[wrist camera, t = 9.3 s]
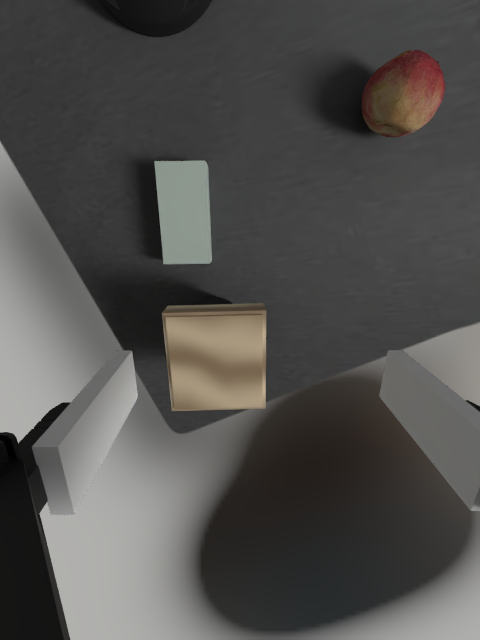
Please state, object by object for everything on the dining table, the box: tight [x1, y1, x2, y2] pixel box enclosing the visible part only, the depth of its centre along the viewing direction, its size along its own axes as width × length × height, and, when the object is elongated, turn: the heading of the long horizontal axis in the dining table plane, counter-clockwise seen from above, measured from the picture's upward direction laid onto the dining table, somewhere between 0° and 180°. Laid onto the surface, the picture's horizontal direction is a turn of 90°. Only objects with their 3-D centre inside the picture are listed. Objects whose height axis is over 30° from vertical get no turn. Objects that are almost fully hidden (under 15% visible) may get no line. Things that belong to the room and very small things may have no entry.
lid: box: [162, 303, 266, 411], centre depth 34 cm, size 12×11×3 cm
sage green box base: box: [154, 161, 212, 264], centre depth 38 cm, size 12×6×4 cm, turn 1°
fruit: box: [362, 50, 445, 137], centre depth 33 cm, size 8×8×8 cm
